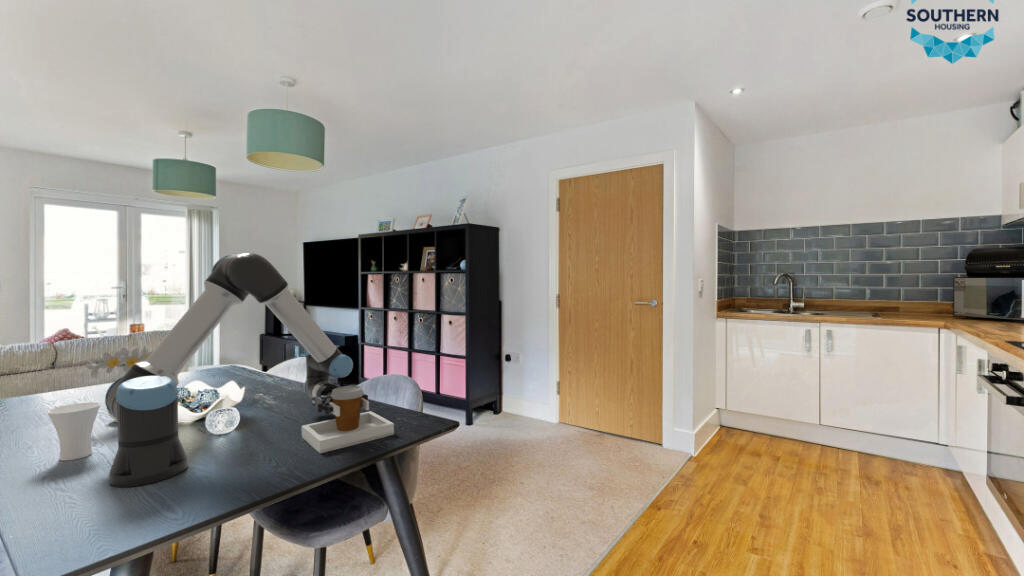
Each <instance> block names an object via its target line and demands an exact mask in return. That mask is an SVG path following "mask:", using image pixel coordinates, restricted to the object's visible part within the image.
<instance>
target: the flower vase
mask: <svg viewBox="0 0 1024 576" xmlns="http://www.w3.org/2000/svg"><path fill="white" fill-rule="evenodd" d="M147 349H148V348H147V347H146V346H145V345H143V348H141V349H140V348H139V347H136V348H135V347H134V348H133V349H132V350H131V351H129V350H128V349H127V348H125V347H121V348H120V351H118V349H116V350H115V352H114V354H113V355H112V354H110V352H104V353H102V354H103V355H102V357H103V359H104V361H102V362H99V363H98V364H96V363H94V362H93V361H91V360H90V359H88V358H87V357H85V361H87V363H85V367H86V368H87V369H88V370H91V372H90V376H91V378H92V379H93V378H95V379H97V378H98V373H99V369H101V370H102V371H104V370H105V369H106V374H110V373H112V372H113V370H114V368H116V369H117V370H118V371H117V372H118V375H119V378H121V377H123V376H124V375H125V374H126V373H127V372H128V371H129V370H130V368H131V367H132V366H133V365H134V364H135V363H138V362H142V361H145V360H146V359H147V358H148V357H149V356H150V355H151V353H152V352H148V350H147ZM139 352H140V353H139ZM139 355H140V356H139ZM107 413H108V416H109V417H110V418H111V419H113V420H114V423H118V421H117V419H116V418H115V417H114V416H113V415H111V414H110V413H109V411H108V410H107Z"/></svg>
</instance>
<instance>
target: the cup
mask: <svg viewBox="0 0 1024 576" xmlns="http://www.w3.org/2000/svg"><path fill="white" fill-rule="evenodd" d="M100 407H101V403H100V402H95V401H93V402H91V401H90V402H79V403H78V402H77V403H71V404H66V405H61V406H58V407H54V408H51V409H49V410H48V411H47V412H46V413H47V415H48V417H49V419H50V420H51V423H52V425H53V427H54V429H55V431H56V434H57V436H58V441H59V448H60V449H59V450H60V451H59V458H58V459H59V460H60V461H63V462H64V461H73V460H79V459H83V458H85V457H88V456H91V455H92V454H93V449H92V434H93V428H94V424H95V421H96V419H97V415H98V413H99V409H100Z"/></svg>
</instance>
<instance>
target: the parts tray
mask: <svg viewBox="0 0 1024 576" xmlns="http://www.w3.org/2000/svg"><path fill="white" fill-rule="evenodd" d="M394 435H395V423H394V422H392V421H390V420H388V419H387V418H384V417H382V416H381V415H379V414H377V413H375V412H373V411H369V410H368V411H366V412H360V419H359V427H358V428H357V429H355V430H351V431H339V430H337V425H336V419H335V418H333V419H326V420H322V421H319V422H318V421H317V422H314V423H309V424H303V425H301V438H302V439H303V440H305V441H306V442H307V443H308V444H309V445H310V446H311V447H312V448H313V449H314V450H316V452H318V453H319V454H323V453H327V452H328V453H329V452H331V451H335V450H340V449H343V448H347V447H351V446H355V445H358V444H364V443H366V442H370V441H374V440H378V439H382V438H385V437H389V436H394Z"/></svg>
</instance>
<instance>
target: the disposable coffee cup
mask: <svg viewBox="0 0 1024 576" xmlns="http://www.w3.org/2000/svg"><path fill="white" fill-rule="evenodd" d="M363 394H365V393H364V390H363V388H362V386H360V385H359V386H358V385H346V386H339V387H338V388H335V389H333V390H332V394H331V397H332V399H333V403H334V404H336V405H337V406H339V407H340V416H338V417H337V416H336V415H334V417H335V418H334V419H336V425H337V430H339V431H351V430H355V429H357V428H358V427H359V419H360V413H361V411H362V408H361V401H362V395H363Z"/></svg>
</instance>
